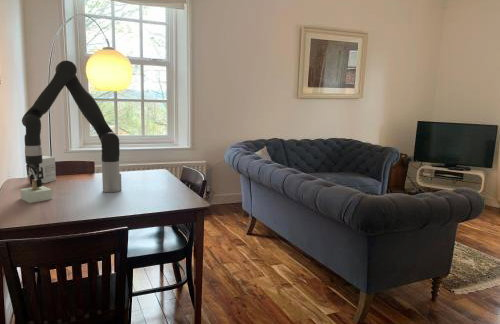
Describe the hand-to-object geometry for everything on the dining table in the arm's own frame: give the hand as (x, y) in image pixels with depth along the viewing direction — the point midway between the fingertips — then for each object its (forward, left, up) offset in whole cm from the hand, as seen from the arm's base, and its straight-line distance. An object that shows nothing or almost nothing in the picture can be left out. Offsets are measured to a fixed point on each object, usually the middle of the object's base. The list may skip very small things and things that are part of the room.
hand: (35, 185), depth 195 cm
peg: (0, 0, -7) cm, 7 cm away
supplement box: (-19, -38, -7) cm, 43 cm away
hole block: (0, 0, -7) cm, 7 cm away
